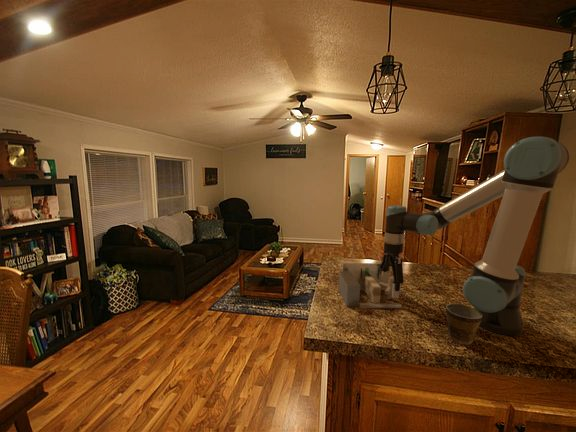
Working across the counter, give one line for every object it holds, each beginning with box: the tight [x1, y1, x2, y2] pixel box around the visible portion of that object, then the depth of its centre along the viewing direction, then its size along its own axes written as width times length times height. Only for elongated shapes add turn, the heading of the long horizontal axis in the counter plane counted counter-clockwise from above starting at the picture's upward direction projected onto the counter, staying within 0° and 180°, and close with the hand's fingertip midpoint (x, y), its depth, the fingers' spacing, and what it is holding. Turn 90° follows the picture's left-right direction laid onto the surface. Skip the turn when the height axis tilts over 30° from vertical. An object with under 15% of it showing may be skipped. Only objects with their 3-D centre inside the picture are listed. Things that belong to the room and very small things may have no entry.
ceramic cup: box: [438, 303, 482, 346], centre depth 91 cm, size 13×10×10 cm
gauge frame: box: [338, 262, 402, 309], centre depth 119 cm, size 20×22×12 cm
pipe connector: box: [379, 275, 404, 300], centre depth 117 cm, size 10×10×10 cm
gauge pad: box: [363, 274, 382, 303], centre depth 120 cm, size 15×3×7 cm, turn 1°
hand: (389, 291), depth 118 cm, fingers open, 11 cm apart
